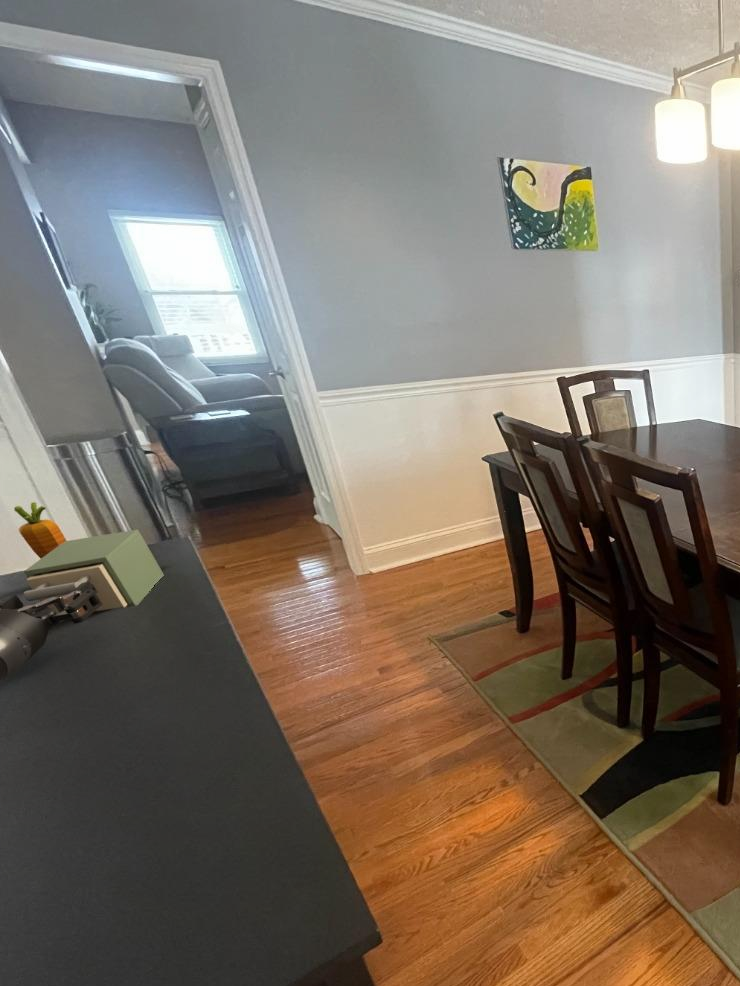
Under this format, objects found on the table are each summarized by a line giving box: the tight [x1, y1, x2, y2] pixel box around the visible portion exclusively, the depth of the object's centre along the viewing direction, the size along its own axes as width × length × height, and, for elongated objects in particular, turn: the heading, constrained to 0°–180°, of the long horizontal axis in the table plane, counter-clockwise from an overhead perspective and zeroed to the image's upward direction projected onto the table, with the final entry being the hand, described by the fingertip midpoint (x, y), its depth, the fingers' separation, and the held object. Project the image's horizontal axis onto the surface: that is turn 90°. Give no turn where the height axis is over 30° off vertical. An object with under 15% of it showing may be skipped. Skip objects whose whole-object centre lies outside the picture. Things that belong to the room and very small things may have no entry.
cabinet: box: [23, 529, 165, 608], centre depth 103 cm, size 13×10×10 cm
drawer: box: [23, 562, 127, 613], centre depth 99 cm, size 16×9×8 cm, turn 25°
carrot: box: [13, 501, 67, 560], centre depth 109 cm, size 5×5×15 cm
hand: (53, 593), depth 92 cm, fingers open, 8 cm apart
